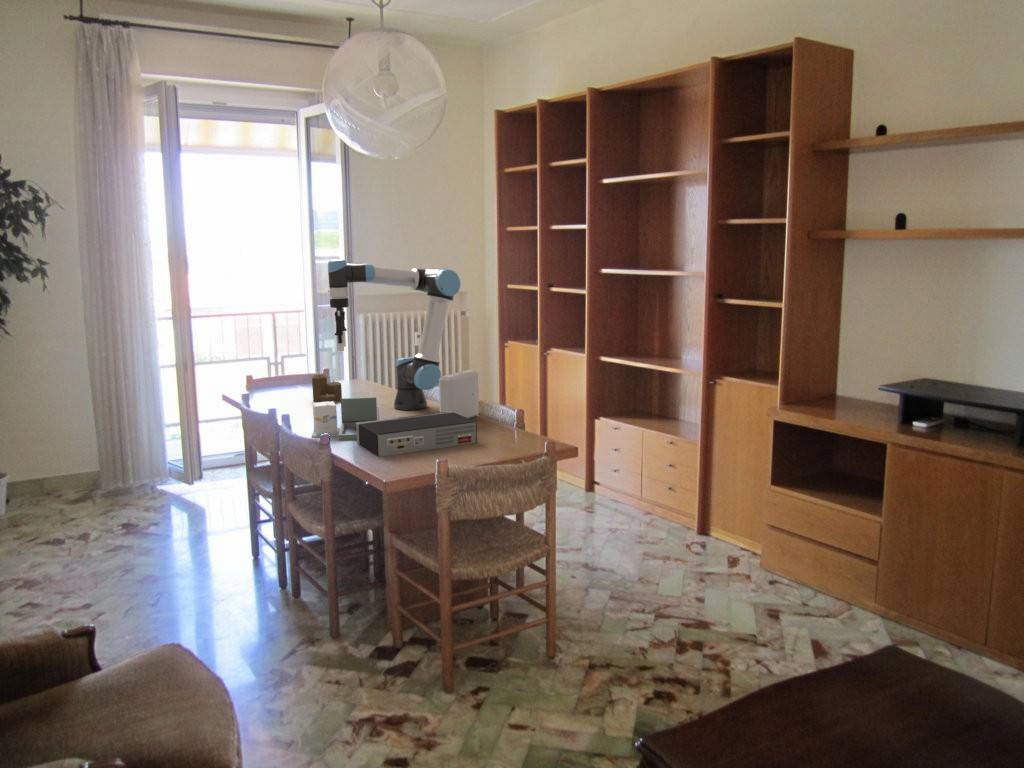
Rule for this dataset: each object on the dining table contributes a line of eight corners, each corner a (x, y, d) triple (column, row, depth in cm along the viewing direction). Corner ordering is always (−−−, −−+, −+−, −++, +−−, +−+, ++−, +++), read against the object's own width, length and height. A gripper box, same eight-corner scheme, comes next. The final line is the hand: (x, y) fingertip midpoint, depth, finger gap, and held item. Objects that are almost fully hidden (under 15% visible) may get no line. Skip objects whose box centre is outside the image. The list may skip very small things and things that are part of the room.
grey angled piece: (380, 425, 347) (378, 397, 345) (378, 438, 324) (377, 408, 322) (342, 426, 345) (340, 398, 343) (338, 440, 322) (336, 410, 320)
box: (377, 458, 297) (376, 434, 296) (354, 443, 319) (353, 421, 317) (477, 443, 317) (476, 420, 315) (449, 430, 338) (448, 409, 336)
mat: (339, 429, 340) (339, 428, 340) (337, 436, 329) (337, 434, 328) (314, 430, 339) (314, 429, 339) (311, 437, 327) (311, 436, 327)
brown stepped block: (306, 403, 396) (304, 372, 393) (320, 398, 409) (318, 368, 406) (331, 404, 392) (330, 373, 390) (345, 399, 405) (343, 368, 403)
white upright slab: (464, 414, 367) (463, 369, 364) (480, 415, 363) (479, 370, 360) (436, 423, 350) (435, 376, 346) (452, 425, 346) (451, 377, 342)
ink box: (313, 430, 336) (312, 402, 334) (334, 428, 339) (333, 400, 337) (316, 435, 328) (314, 406, 326) (338, 433, 331) (336, 404, 329)
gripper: (331, 295, 355) (334, 345, 359) (327, 300, 331) (330, 353, 335) (349, 295, 356) (352, 344, 360) (346, 299, 332) (349, 352, 336)
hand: (341, 348), depth 348 cm, fingers open, 13 cm apart
